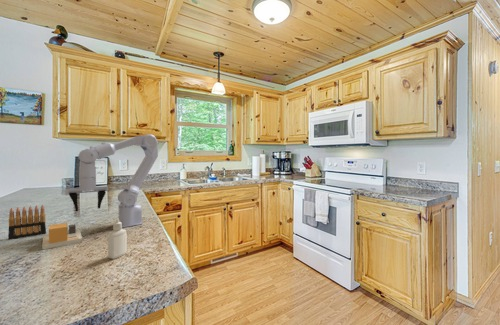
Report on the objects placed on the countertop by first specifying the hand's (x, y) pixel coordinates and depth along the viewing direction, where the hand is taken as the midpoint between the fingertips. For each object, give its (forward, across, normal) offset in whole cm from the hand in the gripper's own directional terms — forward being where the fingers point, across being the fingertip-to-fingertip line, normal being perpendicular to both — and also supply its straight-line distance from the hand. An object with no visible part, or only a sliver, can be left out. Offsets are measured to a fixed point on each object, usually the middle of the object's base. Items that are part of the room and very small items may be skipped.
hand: (88, 209), depth 96 cm
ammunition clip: (+10, -19, +8) cm, 23 cm away
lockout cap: (+8, -10, -10) cm, 16 cm away
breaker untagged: (+8, -6, -3) cm, 10 cm away
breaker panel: (+9, -8, -6) cm, 14 cm away
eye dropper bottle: (+10, +5, -34) cm, 36 cm away
